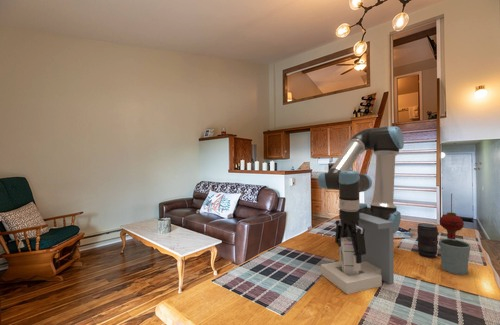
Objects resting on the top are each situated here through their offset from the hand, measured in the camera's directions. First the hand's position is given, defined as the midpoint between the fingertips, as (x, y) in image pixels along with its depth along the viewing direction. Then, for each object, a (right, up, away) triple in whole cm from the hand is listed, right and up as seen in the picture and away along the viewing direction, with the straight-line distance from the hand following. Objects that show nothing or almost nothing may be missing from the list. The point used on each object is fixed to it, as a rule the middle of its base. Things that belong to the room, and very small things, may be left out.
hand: (349, 265), depth 97 cm
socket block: (+3, -5, +1) cm, 6 cm away
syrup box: (0, -4, 0) cm, 4 cm away
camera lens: (+48, -4, +22) cm, 53 cm away
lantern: (+61, -4, +25) cm, 66 cm away
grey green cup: (+48, -5, +6) cm, 48 cm away
